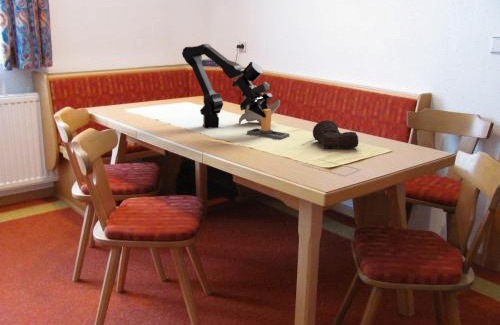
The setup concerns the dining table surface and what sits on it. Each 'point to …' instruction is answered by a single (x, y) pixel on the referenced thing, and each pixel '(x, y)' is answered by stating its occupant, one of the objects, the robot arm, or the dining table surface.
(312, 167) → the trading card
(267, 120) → the breaker toggle
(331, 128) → the dark brown bent piece
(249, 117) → the toy
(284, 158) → the dining table surface
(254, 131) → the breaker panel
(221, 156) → the dining table surface
